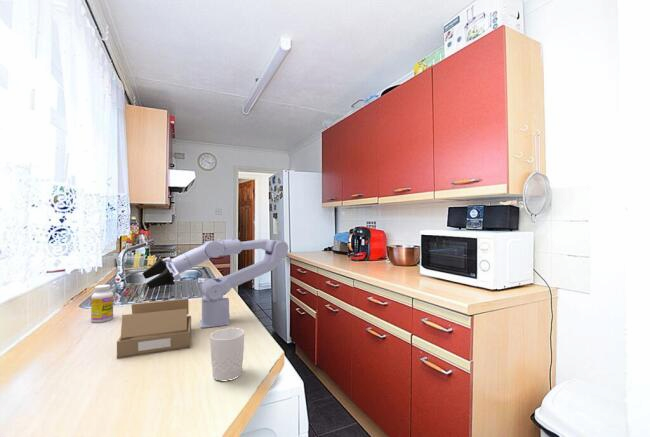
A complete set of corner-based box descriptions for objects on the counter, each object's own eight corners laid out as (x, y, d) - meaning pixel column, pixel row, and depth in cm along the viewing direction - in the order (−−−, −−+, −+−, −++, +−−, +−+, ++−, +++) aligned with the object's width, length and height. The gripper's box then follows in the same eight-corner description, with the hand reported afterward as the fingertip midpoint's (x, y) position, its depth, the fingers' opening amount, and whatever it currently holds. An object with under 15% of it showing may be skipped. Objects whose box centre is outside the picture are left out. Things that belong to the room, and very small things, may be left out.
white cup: (215, 367, 77) (215, 328, 77) (246, 366, 78) (246, 327, 78) (205, 384, 69) (205, 340, 69) (241, 382, 70) (241, 339, 70)
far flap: (188, 314, 104) (188, 313, 104) (188, 299, 102) (188, 298, 103) (132, 320, 98) (132, 319, 98) (131, 304, 96) (131, 303, 96)
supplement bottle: (101, 323, 110) (101, 288, 110) (86, 322, 111) (86, 287, 111) (117, 317, 116) (117, 284, 117) (103, 316, 118) (103, 283, 118)
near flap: (187, 308, 91) (186, 308, 91) (186, 329, 89) (186, 329, 89) (122, 315, 85) (122, 315, 85) (120, 338, 83) (120, 338, 83)
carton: (191, 328, 105) (191, 315, 105) (189, 347, 89) (189, 332, 89) (130, 336, 98) (130, 322, 98) (116, 358, 82) (116, 341, 82)
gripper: (177, 244, 109) (136, 262, 102) (189, 259, 98) (144, 280, 91) (184, 260, 112) (145, 278, 105) (197, 276, 101) (154, 298, 95)
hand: (145, 280), depth 99 cm, fingers open, 7 cm apart
